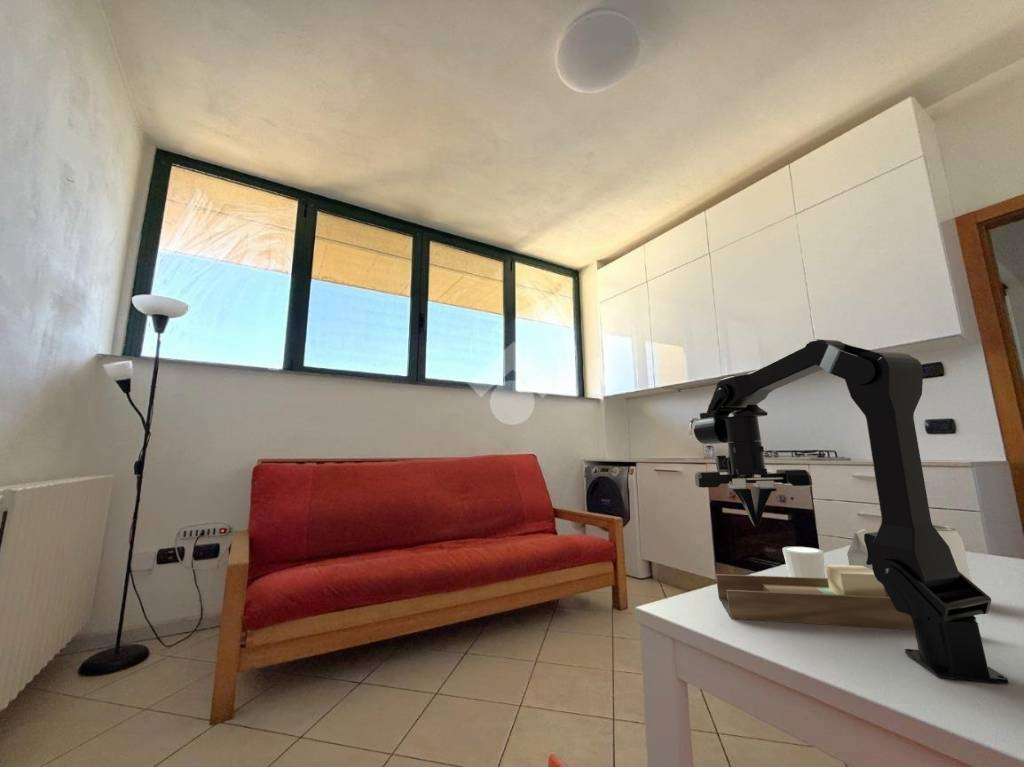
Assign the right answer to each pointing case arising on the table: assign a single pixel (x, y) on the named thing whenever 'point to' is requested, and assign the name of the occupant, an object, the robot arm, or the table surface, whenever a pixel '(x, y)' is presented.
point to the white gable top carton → (858, 550)
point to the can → (955, 548)
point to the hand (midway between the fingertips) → (756, 525)
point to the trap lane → (805, 602)
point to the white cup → (804, 562)
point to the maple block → (853, 581)
